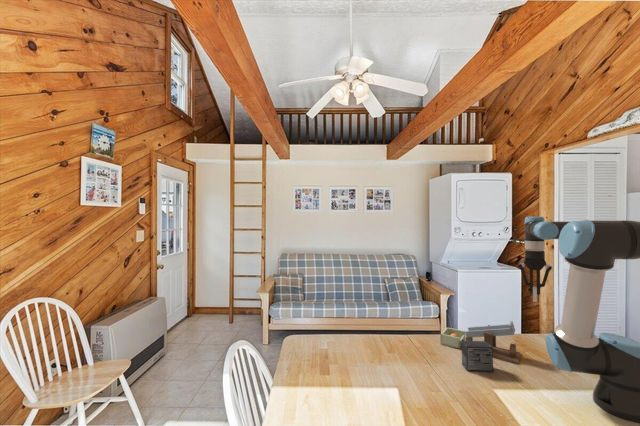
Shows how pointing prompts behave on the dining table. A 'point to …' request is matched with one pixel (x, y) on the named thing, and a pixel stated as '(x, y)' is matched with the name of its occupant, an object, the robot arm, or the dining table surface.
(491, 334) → the stand
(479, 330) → the lever
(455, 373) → the dining table surface
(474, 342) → the small box
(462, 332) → the dish
